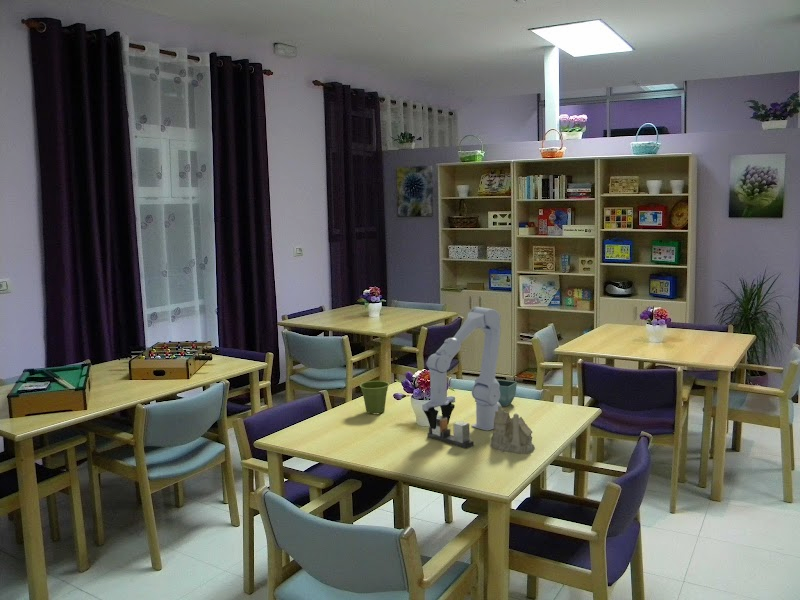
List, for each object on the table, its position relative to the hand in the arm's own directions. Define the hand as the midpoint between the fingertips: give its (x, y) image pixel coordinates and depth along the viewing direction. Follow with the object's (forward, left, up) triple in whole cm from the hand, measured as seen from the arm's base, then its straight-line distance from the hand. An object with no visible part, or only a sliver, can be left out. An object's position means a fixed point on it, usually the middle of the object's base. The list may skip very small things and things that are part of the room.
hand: (439, 426), depth 251 cm
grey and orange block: (0, 0, -3) cm, 3 cm away
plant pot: (-6, -42, -4) cm, 42 cm away
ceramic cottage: (-12, +24, -5) cm, 27 cm away
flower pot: (-48, -10, -4) cm, 49 cm away
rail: (0, +5, -4) cm, 7 cm away
